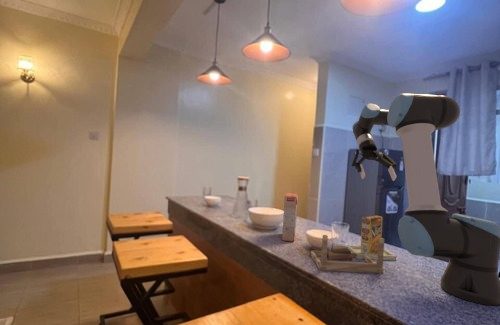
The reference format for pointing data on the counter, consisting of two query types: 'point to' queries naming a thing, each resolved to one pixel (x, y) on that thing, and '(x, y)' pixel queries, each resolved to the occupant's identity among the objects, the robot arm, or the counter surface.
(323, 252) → the rack
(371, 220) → the candy box
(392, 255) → the tray
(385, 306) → the counter surface
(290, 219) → the cracker box
